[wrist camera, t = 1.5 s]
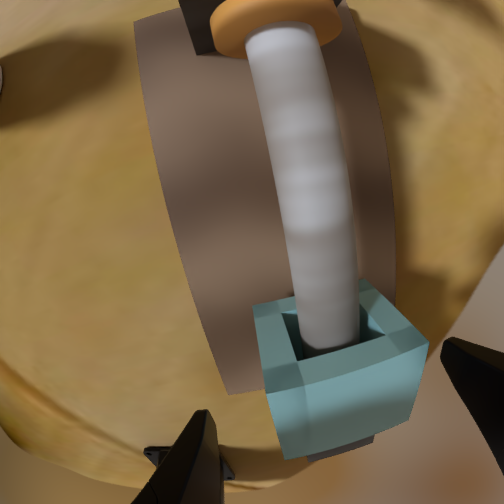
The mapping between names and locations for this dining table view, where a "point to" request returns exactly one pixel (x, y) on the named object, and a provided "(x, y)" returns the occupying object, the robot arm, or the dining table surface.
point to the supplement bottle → (0, 78)
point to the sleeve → (339, 376)
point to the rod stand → (270, 170)
